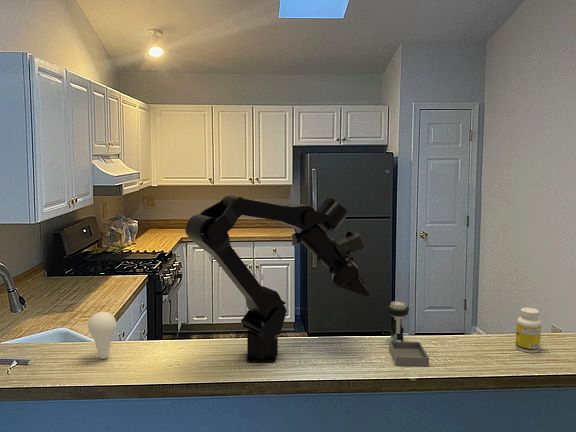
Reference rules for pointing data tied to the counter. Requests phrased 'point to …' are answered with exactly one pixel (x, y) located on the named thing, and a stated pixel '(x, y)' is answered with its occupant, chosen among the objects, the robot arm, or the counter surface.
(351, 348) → the counter surface
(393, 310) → the push button
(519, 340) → the supplement bottle
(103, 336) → the lightbulb
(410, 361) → the tray
